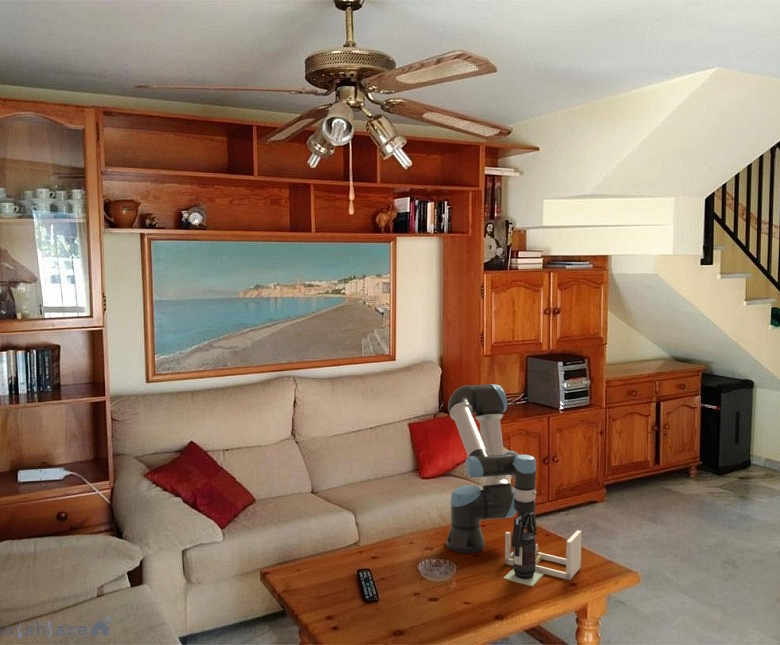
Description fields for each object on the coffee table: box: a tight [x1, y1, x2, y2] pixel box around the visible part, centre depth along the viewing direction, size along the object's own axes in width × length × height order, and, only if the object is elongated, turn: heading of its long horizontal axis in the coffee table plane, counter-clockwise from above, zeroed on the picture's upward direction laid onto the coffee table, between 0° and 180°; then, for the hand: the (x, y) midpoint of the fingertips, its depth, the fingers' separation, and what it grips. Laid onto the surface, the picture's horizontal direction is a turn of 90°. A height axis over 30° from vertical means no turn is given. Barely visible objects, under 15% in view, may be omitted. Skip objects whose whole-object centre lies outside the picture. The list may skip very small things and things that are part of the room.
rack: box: [504, 529, 582, 581], centre depth 260 cm, size 25×12×14 cm, turn 57°
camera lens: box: [512, 531, 537, 579], centre depth 252 cm, size 8×8×15 cm
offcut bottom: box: [535, 555, 542, 565], centre depth 264 cm, size 8×8×2 cm
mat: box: [503, 567, 545, 587], centre depth 252 cm, size 11×11×1 cm
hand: (524, 558), depth 252 cm, fingers open, 10 cm apart
